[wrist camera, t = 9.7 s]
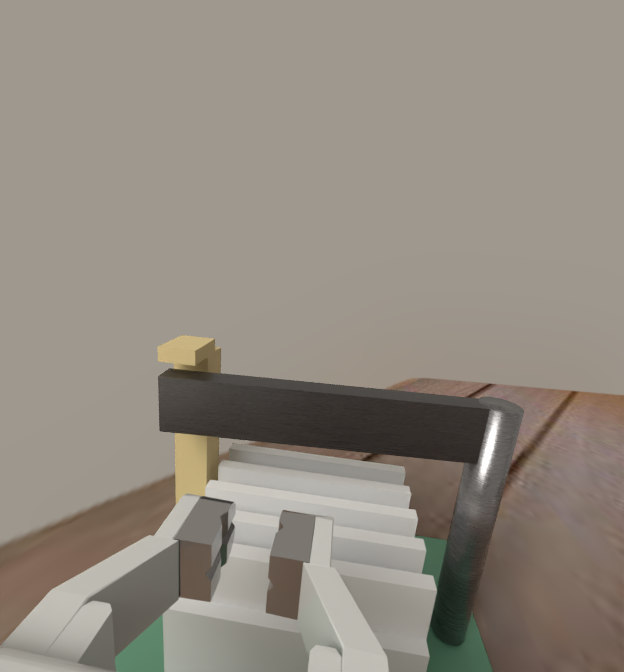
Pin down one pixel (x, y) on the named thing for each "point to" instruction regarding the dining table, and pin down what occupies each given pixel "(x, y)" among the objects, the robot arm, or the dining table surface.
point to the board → (255, 547)
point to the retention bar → (370, 449)
